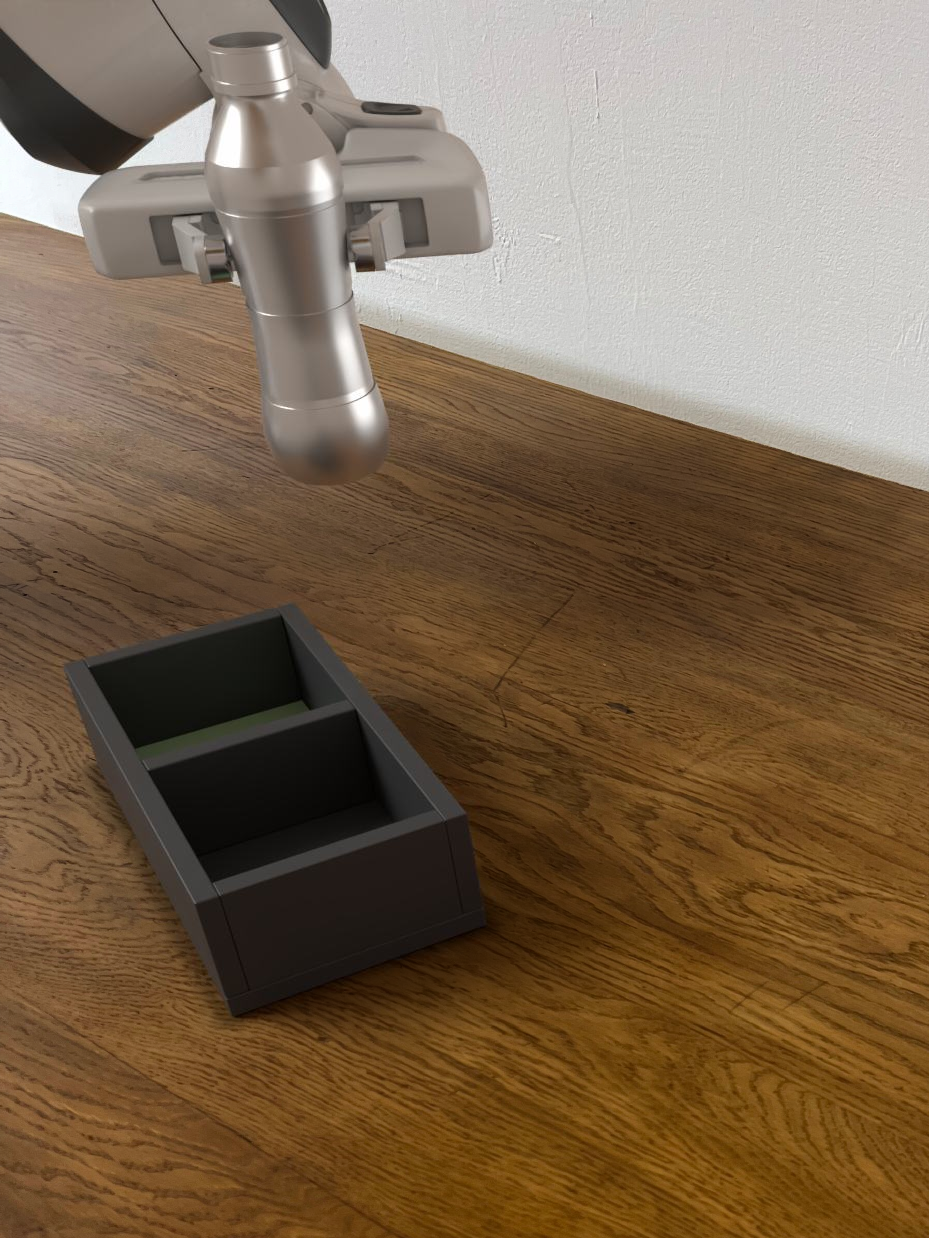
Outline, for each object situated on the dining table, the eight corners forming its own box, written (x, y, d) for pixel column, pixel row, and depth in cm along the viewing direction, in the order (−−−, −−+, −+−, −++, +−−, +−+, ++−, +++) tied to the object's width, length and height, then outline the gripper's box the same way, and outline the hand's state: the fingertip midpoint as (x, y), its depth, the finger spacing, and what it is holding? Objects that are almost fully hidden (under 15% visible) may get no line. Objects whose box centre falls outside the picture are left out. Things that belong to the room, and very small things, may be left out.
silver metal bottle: (384, 441, 87) (306, 18, 74) (409, 490, 83) (331, 48, 69) (266, 460, 86) (164, 31, 72) (285, 510, 81) (179, 62, 67)
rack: (232, 1017, 66) (194, 904, 62) (100, 770, 79) (61, 663, 75) (487, 925, 70) (467, 813, 66) (319, 705, 84) (294, 601, 80)
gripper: (74, 128, 82) (45, 204, 72) (469, 104, 85) (492, 174, 76) (110, 257, 87) (87, 346, 77) (484, 230, 90) (508, 311, 80)
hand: (292, 260), depth 76 cm, fingers closed on silver metal bottle, 6 cm apart
